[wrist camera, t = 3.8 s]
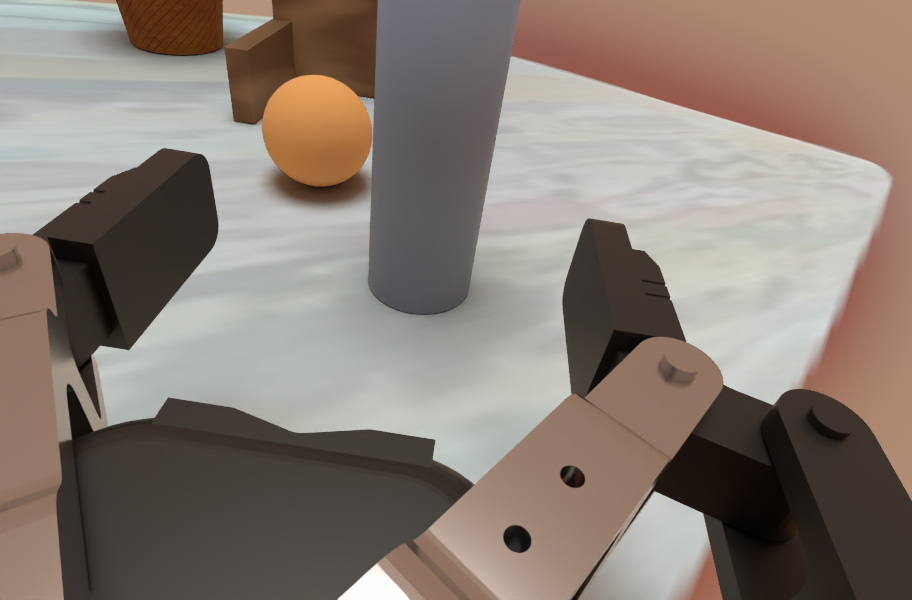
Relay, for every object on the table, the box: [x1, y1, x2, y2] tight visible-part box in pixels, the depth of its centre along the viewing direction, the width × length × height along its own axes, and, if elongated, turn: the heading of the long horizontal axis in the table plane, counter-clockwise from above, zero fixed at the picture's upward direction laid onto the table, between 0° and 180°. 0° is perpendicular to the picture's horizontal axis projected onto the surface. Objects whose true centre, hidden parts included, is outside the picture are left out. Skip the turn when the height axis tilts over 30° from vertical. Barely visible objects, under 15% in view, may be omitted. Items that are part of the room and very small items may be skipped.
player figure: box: [368, 0, 521, 314], centre depth 16 cm, size 5×5×17 cm
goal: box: [225, 0, 378, 124], centre depth 32 cm, size 13×9×10 cm, turn 85°
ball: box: [262, 75, 372, 186], centre depth 25 cm, size 5×5×5 cm
